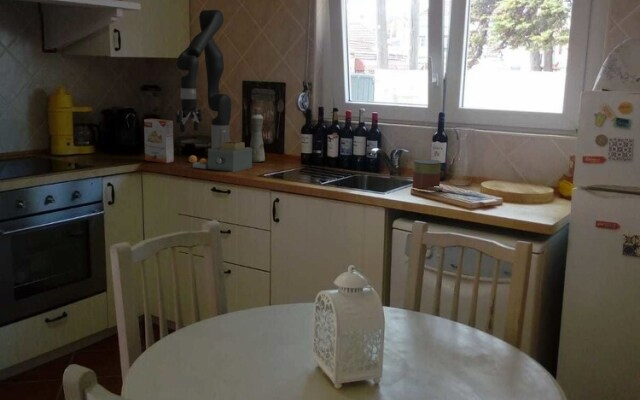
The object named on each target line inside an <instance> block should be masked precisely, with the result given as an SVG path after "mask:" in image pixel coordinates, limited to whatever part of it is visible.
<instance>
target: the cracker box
mask: <svg viewBox="0 0 640 400" xmlns="http://www.w3.org/2000/svg"><path fill="white" fill-rule="evenodd" d="M143 130H144V131H143V132H144V160H145V161H147V162H156V163H163V164H169V163H173V162H174V161H175V156H174V155H175V154H174V121H173V120H169V119H168V120H167V119H159V118H145V119H143Z"/></svg>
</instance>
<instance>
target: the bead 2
mask: <svg viewBox="0 0 640 400" xmlns="http://www.w3.org/2000/svg"><path fill="white" fill-rule="evenodd" d="M198 162H199V164H208V159H206V158H201V159H200V160H199V161H198Z"/></svg>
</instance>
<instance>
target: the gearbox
mask: <svg viewBox="0 0 640 400" xmlns="http://www.w3.org/2000/svg"><path fill="white" fill-rule="evenodd" d="M207 162H208V168H207V170H208V169H209V170H215V171H224V172H230V173H232V174H235V173H238V172H244V171H243V170H245V171H247V170H252V169H253V162H252V148H250V146H249V147H247V146H246V147H245V142H241V141H232V140H230V141H228V142H222V143H221V147H216V148H212V147H211V148H210V147H209V148H207Z"/></svg>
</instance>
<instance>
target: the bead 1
mask: <svg viewBox="0 0 640 400" xmlns="http://www.w3.org/2000/svg"><path fill="white" fill-rule="evenodd" d="M197 161H198V157H197V156H196V155H193V154H192V155H190V156H189V157H188V162H189V163H191V164H193V163H196V162H197Z"/></svg>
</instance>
